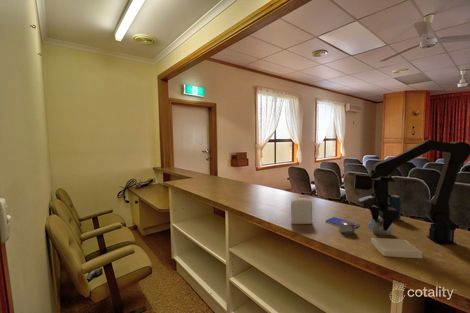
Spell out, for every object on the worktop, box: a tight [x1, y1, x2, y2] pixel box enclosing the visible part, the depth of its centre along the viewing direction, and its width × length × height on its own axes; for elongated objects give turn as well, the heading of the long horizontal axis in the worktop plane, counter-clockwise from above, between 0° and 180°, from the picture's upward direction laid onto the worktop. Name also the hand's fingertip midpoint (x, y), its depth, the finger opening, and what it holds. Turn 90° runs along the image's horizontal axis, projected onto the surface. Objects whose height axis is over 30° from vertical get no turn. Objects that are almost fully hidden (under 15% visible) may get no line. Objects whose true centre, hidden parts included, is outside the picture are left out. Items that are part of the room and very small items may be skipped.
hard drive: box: [324, 216, 360, 229], centre depth 106 cm, size 2×8×12 cm
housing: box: [367, 218, 393, 236], centre depth 96 cm, size 7×5×6 cm
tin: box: [338, 220, 356, 236], centre depth 97 cm, size 6×6×4 cm
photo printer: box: [290, 197, 313, 225], centre depth 108 cm, size 10×4×12 cm, turn 90°
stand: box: [370, 237, 423, 259], centre depth 81 cm, size 12×10×2 cm
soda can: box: [387, 193, 402, 222], centre depth 112 cm, size 7×7×12 cm
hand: (379, 226), depth 96 cm, fingers open, 9 cm apart
